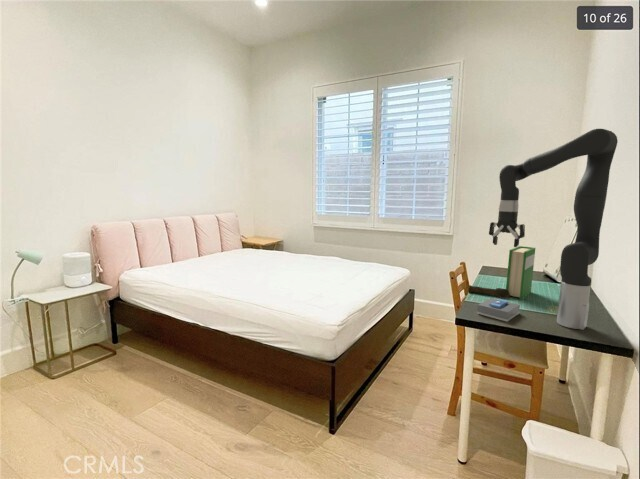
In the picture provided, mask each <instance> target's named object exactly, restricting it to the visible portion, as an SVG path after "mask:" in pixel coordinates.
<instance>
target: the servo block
mask: <svg viewBox="0 0 640 479" xmlns="http://www.w3.org/2000/svg"><path fill="white" fill-rule="evenodd" d="M508 302H509V301H508V300H505V299H500V298H499V299H497V301H495V302H493V303H491V304H490V306H493V307H497V308H504V307H506V304H507V303H508Z"/></svg>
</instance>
